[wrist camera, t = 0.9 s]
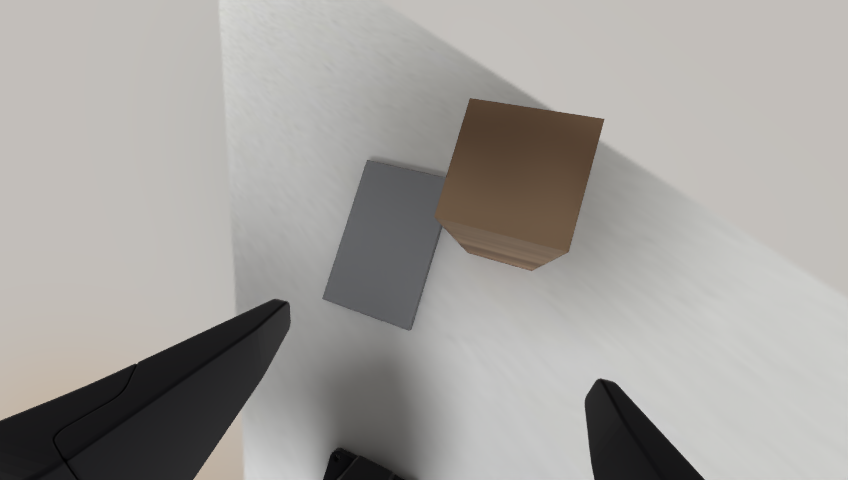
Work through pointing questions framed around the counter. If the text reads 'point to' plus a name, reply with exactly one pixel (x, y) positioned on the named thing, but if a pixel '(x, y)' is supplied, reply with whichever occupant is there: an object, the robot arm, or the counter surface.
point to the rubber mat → (387, 244)
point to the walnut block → (517, 182)
